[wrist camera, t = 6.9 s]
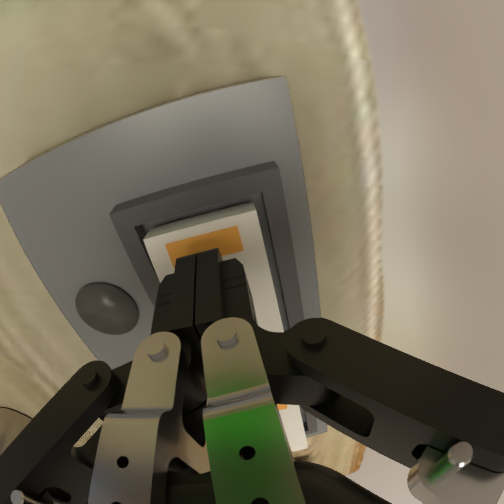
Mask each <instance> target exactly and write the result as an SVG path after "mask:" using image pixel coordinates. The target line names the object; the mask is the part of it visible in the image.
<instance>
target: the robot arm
mask: <svg viewBox="0 0 504 504" xmlns="http://www.w3.org/2000/svg"><path fill="white" fill-rule="evenodd" d="M155 305H156V307H155V309H154V315H153V321H152V327H151V334H150V336H148V337H147V338H145V339H144V340H143V341H142V342H141V343H140V344H139V345H138V347H137V349H136V351H135V355H134V358H133V360H132V361H130V362H128V363H126V364H124V365H121V366H119V367H117V368H115V369H111V368H110V366H109V365H108V364H107V363H105V362H103V361H92V362H89V363H87V364H85V365H84V366H82V367H81V368H80V369H79V370H78V371H77V372H76V373H75V374H74V375H73V376H72V377H71V379H70V380H69V381H68V382H67V383H66V384H65V385H64V386H63V387H62V388H61V389H60V390H59V391H58V392H57V393H56V394H55V395H54V396H53V398H52V399H51V400H50V401H49V402H48V403H47V404H46V405H45V406H44V407H43V408H42V409H41V410H40V412H39V413H38V414H37V415H36V416H35V417H34V418H33V419H30V418H28V417H26V416H24V415H22V414H20V413H18V412H16V411H13V410H10V409H6V408H0V504H392V503H390V502H388V501H386V500H384V499H382V498H381V497H379V496H377V495H375V494H373V493H372V492H370V491H369V490H367V489H365V488H363V487H362V486H360V485H359V484H357V483H355V482H353V481H352V480H350V479H349V478H347V477H345V476H344V475H342V474H341V473H339V472H337V471H335V470H333V469H331V468H328V467H325V466H322V465H319V464H315V463H311V462H304V461H295V460H294V457H293V454H292V451H291V447H290V444H289V441H288V438H287V435H286V432H285V429H284V426H283V423H282V419H281V416H280V413H279V410H278V406H277V404H285V405H300V407H301V408H302V409H303V410H305V411H306V412H308V413H310V414H311V415H313V416H314V417H316V418H318V419H319V420H321V421H323V422H324V423H326V424H328V425H330V426H331V427H333V428H335V429H336V430H338V431H340V432H342V433H343V434H345V435H347V436H349V437H351V438H352V439H354V440H356V441H358V442H360V443H361V444H363V445H365V446H367V447H369V448H371V449H373V450H375V451H377V452H379V453H380V454H382V455H384V456H386V457H388V458H390V459H392V460H394V461H396V462H399V463H400V464H403V465H405V466H407V467H409V468H411V469H410V471H409V474H408V479H407V480H408V481H407V482H408V488H409V490H410V492H411V494H412V495H413V496H414V497H415V498H417V499H418V500H420V501H421V502H422V503H423V504H497V502H498V500H499V498H500V496H501V494H502V492H503V489H504V393H503V392H500V391H497V390H495V389H492V388H490V387H487V386H484V385H482V384H479V383H477V382H474V381H472V380H469V379H467V378H464V377H462V376H459V375H457V374H454V373H452V372H449V371H447V370H444V369H442V368H440V367H437V366H434V365H432V364H430V363H428V362H425V361H423V360H421V359H418V358H416V357H413V356H411V355H409V354H406V353H404V352H401V351H399V350H397V349H394V348H392V347H390V346H388V345H385V344H383V343H381V342H378V341H376V340H374V339H371V338H369V337H367V336H365V335H362V334H360V333H358V332H355V331H353V330H351V329H349V328H346V327H344V326H342V325H340V324H337V323H335V322H333V321H331V320H328V319H325V318H309V319H305V320H302V321H300V322H298V323H297V324H295V325H294V326H293V327H292V328H291V329H290V330H289V331H288V332H271V331H267V330H264V329H263V328H261V327H259V326H258V323H257V318H256V313H255V308H254V303H253V298H252V294H251V291H250V287H249V284H248V280H247V277H246V273H245V270H244V266H243V264H242V263H241V262H240V261H239V260H237V259H236V258H233V259H229V260H225V261H223V259H222V256H221V253H220V250H219V248H214V249H210V250H206V251H202V252H198V254H197V253H195V254H191V255H187V256H183V257H179V258H177V259H176V264H175V271H174V273H173V274H169V275H166V276H165V277H164V279H163V280H162V282H161V283H160V285H159V287H158V293H157V298H156V304H155ZM98 417H99V418H100V419H101V420H102V421H103V424H102V425H101V427H100V428H99V429H98V430H97V431H96V432H95V433H94V434H93V436H92V437H91V438H90V439H89V440H88V441H87V442H86V443H85V444H84V445H83V446H81V447H73V445H74V444H75V443H76V442H77V441H78V440H79V439H80V437H81V436H82V435H83V434H84V433H85V432H86V431H87V430H88V429H89V427H90V426H91V425H92V424H93V423H94V422H95V421H96V420H97V419H98Z"/></svg>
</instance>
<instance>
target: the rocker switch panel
mask: <svg viewBox="0 0 504 504" xmlns="http://www.w3.org/2000/svg"><path fill="white" fill-rule="evenodd" d="M249 202H253V203H254V206H255V208H256V212H257V216H258V220H259V225H260V229H261V233H262V237H263V242H264V246H265V250H266V255H267V259H268V263H269V268H270V272H271V276H272V281H273V285H274V290H275V294H276V298H277V303H278V307H279V312H280V316H281V321H282V325H283V330H284V332H288V331H289V330H290V329H291V328H292V327H293V326H294V325H295V324H297V323H298V322H300V321H302V320H305V319H309V318H321V313H320V302H319V292H318V282H317V272H316V263H315V254H314V246H313V238H312V230H311V222H310V215H309V208H308V200H307V194H306V187H305V180H304V174H303V167H302V161H301V155H300V149H299V143H298V137H297V132H296V126H295V121H294V115H293V110H292V105H291V100H290V95H289V90H288V85H287V80H286V76H271V77H264V78H259V79H254V80H249V81H244V82H239V83H235V84H230V85H226V86H222V87H218V88H214V89H210V90H206V91H202V92H198V93H195V94H191V95H188V96H184V97H181V98H177V99H174V100H171V101H168V102H164V103H161V104H158V105H155V106H152V107H149V108H146V109H143V110H141V111H138V112H135V113H132V114H130V115H127V116H124V117H122V118H119V119H116V120H114V121H111V122H109V123H106V124H104V125H102V126H99V127H97V128H94V129H92V130H90V131H87V132H85V133H83V134H81V135H79V136H76V137H74V138H72V139H70V140H68V141H66V142H64V143H62V144H59V145H57V146H55V147H53V148H51V149H49V150H47V151H46V152H44V153H42V154H40V155H38V156H36V157H34V158H32V159H31V160H29V161H27V162H25V163H24V164H22V165H20V166H19V167H17V168H16V169H14V170H12V171H11V172H9V173H8V174H6V175H5V176H3V177H2V178H0V204H1V206H2V208H3V210H4V213H5V215H6V217H7V219H8V221H9V223H10V225H11V227H12V229H13V231H14V233H15V235H16V237H17V239H18V241H19V243H20V245H21V246H22V248H23V250H24V252H25V254H26V256H27V257H28V259H29V261H30V263H31V264H32V266H33V268H34V269H35V271H36V273H37V274H38V276H39V278H40V279H41V281H42V283H43V284H44V286H45V287H46V289H47V291H48V292H49V294H50V295H51V297H52V298H53V300H54V301H55V303H56V304H57V306H58V307H59V309H60V310H61V312H62V313H63V315H64V316H65V317H66V319H67V320H68V322H69V323H70V324H71V326H72V327H73V328H74V330H75V331H76V333H77V334H78V335H79V337H80V338H81V339H82V340H83V342H84V343H85V344H86V346H87V347H88V348H89V349H90V351H91V352H92V353H93V354H94V356H95V357H96V358H97V359H98V361H103V362H105V363H107V364H108V365H109V366H110V368H111V369H115V368H117V367H119V366H121V365H124V364H126V363H128V362H130V361H132V360H133V358H134V355H135V351H136V349H137V347H138V345H139V344H140V343H141V342H142V341H143V340H144V339H145V338H147V337H148V336H150V334H151V327H152V321H153V315H154V309H155V307H156V305H155V304H156V298H157V293H158V287H159V285H160V282H159V279H158V277H157V274H156V272H155V269H154V267H153V264H152V262H151V259H150V257H149V254H148V251H147V249H146V246H145V243H144V241H143V239H144V237H145V236H146V234H147V233H148V231H149V229H151V228H155V227H158V226H162V225H165V224H169V223H173V222H176V221H180V220H184V219H187V218H191V217H195V216H198V215H202V214H206V213H210V212H214V211H217V210H221V209H225V208H229V207H233V206H237V205H241V204H245V203H249ZM299 408H300V412H301V417H302V421H303V426H304V431H305V435H306V437H310V436H314V435H317V434H321V433H325V432H327V424H326V423H324V422H323V421H321V420H319V419H318V418H316V417H314V416H313V415H311V414H310V413H308V412H306V411H305V410H303V409H302V408H301V407H300V405H299Z"/></svg>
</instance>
